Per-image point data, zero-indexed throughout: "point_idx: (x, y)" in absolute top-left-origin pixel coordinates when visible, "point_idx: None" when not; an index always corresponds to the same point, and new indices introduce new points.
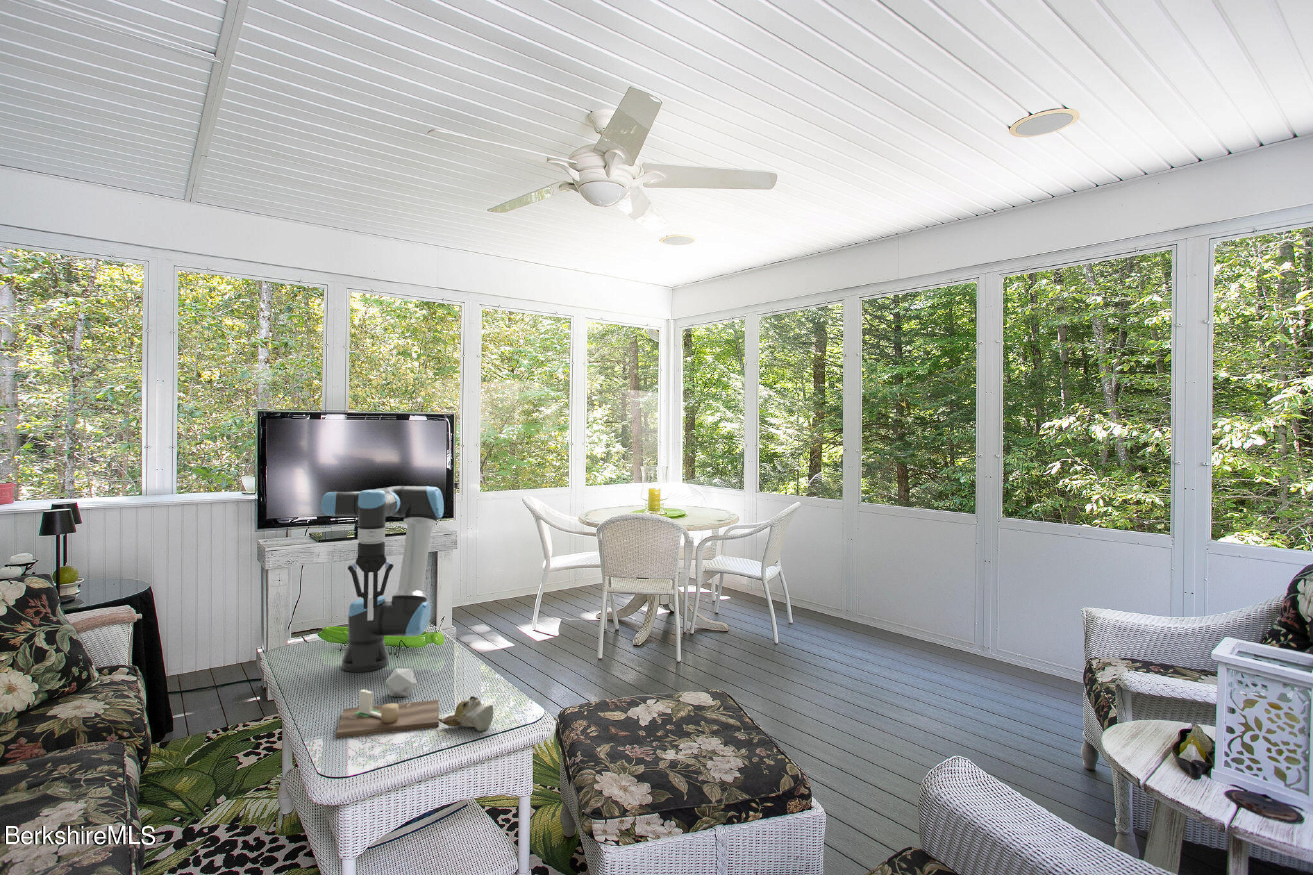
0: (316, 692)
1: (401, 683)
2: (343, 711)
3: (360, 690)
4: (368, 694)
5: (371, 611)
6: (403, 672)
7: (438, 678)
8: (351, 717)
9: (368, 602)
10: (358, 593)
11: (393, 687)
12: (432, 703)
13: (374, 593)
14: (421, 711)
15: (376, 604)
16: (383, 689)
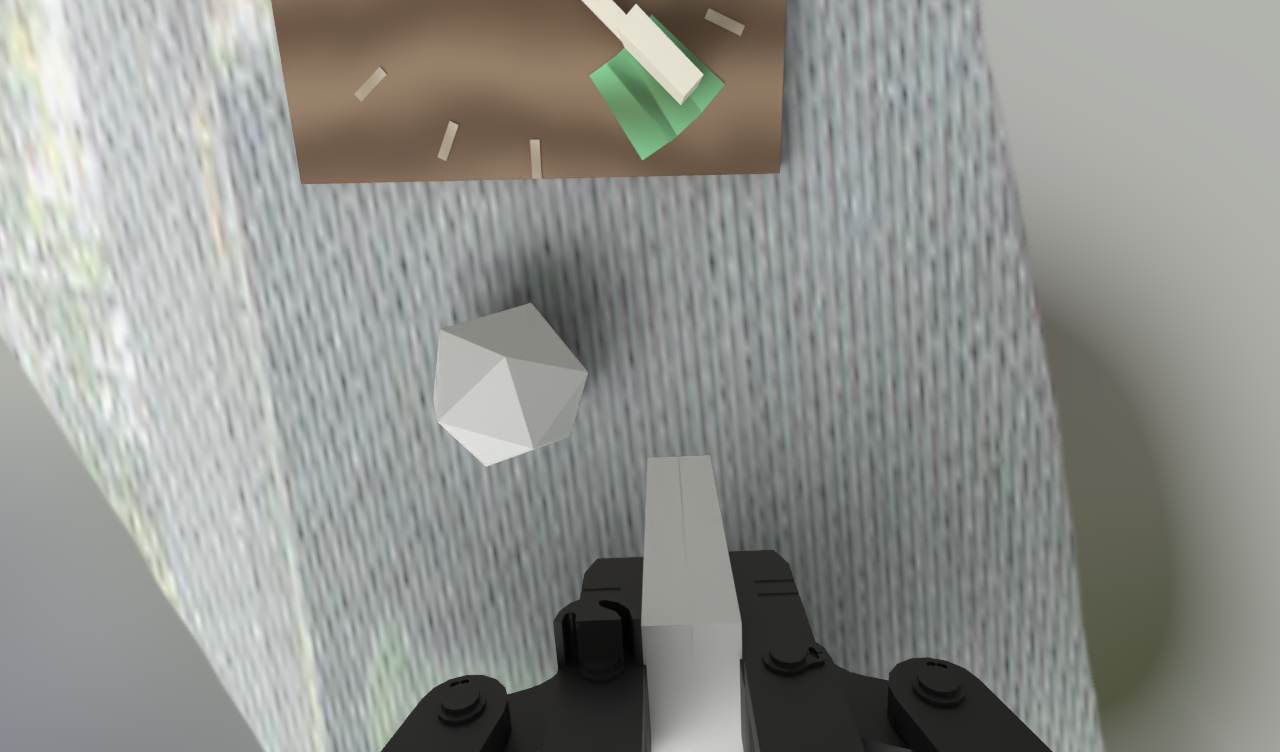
0: (924, 487)
1: (495, 324)
2: (779, 133)
3: (698, 78)
4: (643, 12)
5: (664, 505)
6: (478, 376)
7: (367, 532)
8: (730, 26)
9: (720, 581)
10: (971, 718)
11: (541, 321)
12: (325, 135)
13: (611, 712)
14: (366, 26)
15: (593, 592)
16: (614, 452)
